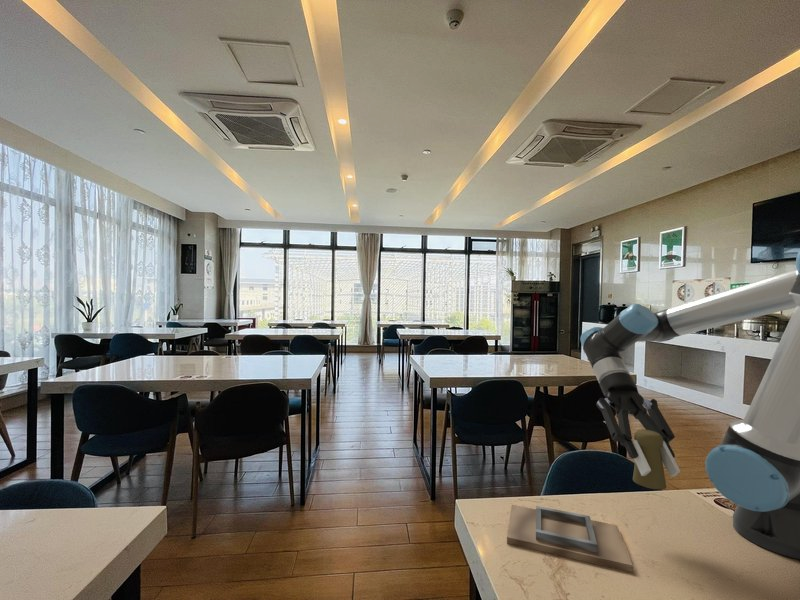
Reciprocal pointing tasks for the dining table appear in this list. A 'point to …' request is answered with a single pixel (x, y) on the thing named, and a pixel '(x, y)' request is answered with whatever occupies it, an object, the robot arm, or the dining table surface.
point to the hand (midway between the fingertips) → (660, 473)
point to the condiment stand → (568, 536)
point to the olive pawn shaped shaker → (650, 460)
